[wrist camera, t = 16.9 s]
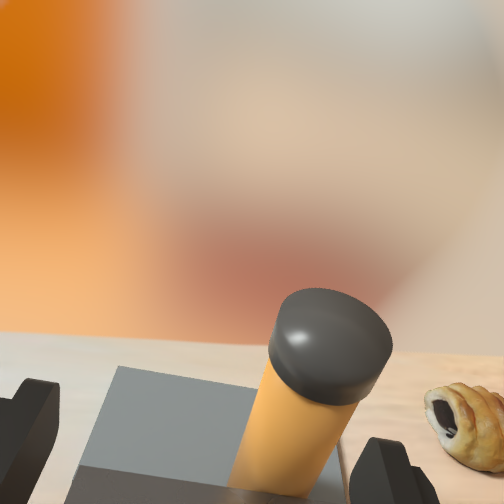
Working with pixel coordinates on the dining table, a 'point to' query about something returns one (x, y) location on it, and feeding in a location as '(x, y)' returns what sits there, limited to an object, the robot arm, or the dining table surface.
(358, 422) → the dining table surface
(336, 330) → the plug
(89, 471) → the housing
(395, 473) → the robot arm
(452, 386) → the pastry
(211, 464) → the mat
